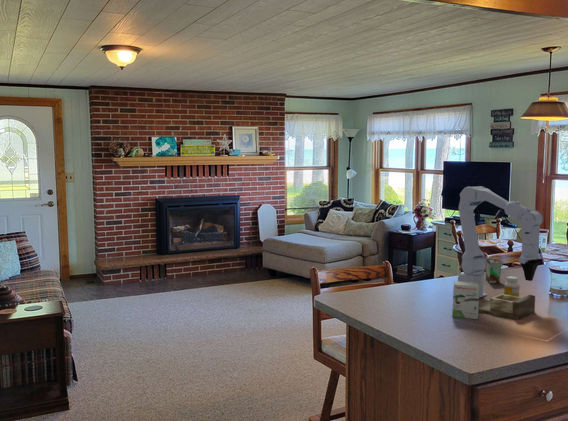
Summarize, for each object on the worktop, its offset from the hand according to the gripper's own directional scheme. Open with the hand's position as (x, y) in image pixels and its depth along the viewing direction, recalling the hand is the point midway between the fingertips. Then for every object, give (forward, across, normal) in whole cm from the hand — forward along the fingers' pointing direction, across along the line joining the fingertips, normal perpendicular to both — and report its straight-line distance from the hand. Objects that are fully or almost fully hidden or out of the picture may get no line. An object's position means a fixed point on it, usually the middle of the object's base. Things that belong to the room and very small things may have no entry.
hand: (529, 280), depth 203 cm
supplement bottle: (+11, +4, +8) cm, 14 cm away
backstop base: (+10, -12, +6) cm, 16 cm away
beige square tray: (+9, -11, +3) cm, 15 cm away
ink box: (+11, -28, +10) cm, 31 cm away
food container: (+10, +32, +28) cm, 44 cm away
